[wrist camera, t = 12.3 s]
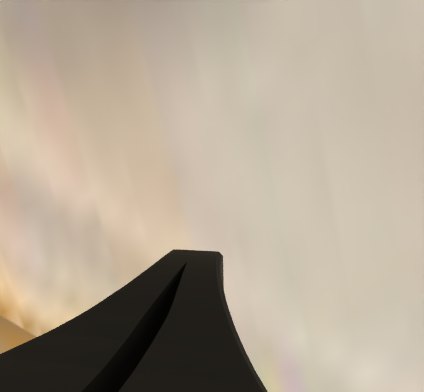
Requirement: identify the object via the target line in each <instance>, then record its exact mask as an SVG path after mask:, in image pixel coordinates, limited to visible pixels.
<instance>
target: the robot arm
mask: <svg viewBox="0 0 424 392" xmlns="http://www.w3.org/2000/svg"><path fill="white" fill-rule="evenodd" d="M0 392H267V390H266V388H265V387H264V385H263V383H262V382H261V380H260V378H259V376H258V375H257V373H256V371H255V370H254V368H253V366H252V364H251V362H250V360H249V358H248V356H247V354H246V352H245V350H244V347H243V345H242V343H241V341H240V338H239V336H238V334H237V331H236V329H235V326H234V323H233V321H232V318H231V315H230V312H229V309H228V305H227V302H226V298H225V294H224V287H223V256H222V255H221V254H220V253H219V252H214V251H194V250H172V251H171V252H169V253H168V254H167V255H165V256H164V257H163V258H161V259H160V260H159V261H157V262H156V263H155V264H153V265H152V266H151V267H150V268H148V269H147V270H146V271H144V272H143V273H141V274H140V275H139V276H137V277H136V278H135V279H133V280H132V281H131V282H129V283H128V284H127V285H125V286H124V287H122V288H121V289H119V290H118V291H116V292H115V293H113V294H112V295H110V296H109V297H107V298H106V299H104V300H103V301H101V302H100V303H98V304H97V305H95V306H94V307H92V308H90V309H89V310H87V311H85V312H84V313H82V314H80V315H79V316H77V317H75V318H73V319H71V320H70V321H68V322H66V323H64V324H62V325H60V326H59V327H57V328H55V329H53V330H51V331H49V332H47V333H45V334H43V335H41V336H39V337H36V338H34V339H32V340H30V341H28V342H26V343H24V344H22V345H19V346H17V347H15V348H13V349H11V350H8V351H6V352H4V353H2V354H0Z"/></svg>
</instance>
